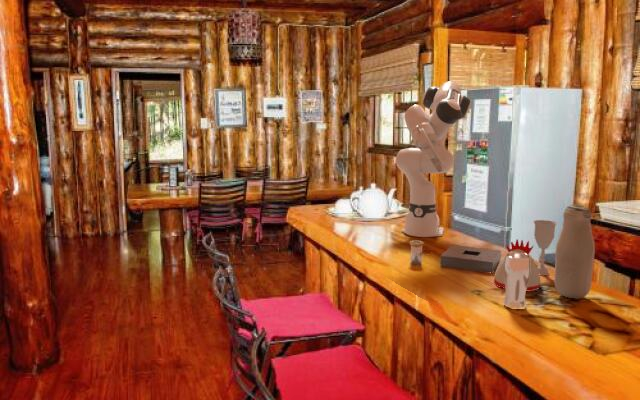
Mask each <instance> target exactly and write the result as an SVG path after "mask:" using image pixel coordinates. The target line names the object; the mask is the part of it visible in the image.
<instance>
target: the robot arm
mask: <svg viewBox="0 0 640 400" xmlns="http://www.w3.org/2000/svg"><path fill="white" fill-rule="evenodd" d="M422 104H423V106H424V107H425V108H426V109H427V110H432V112H431V113H430V115H429V114H428V113H426V111H425V110H424V108H423V107H422V106H421V105H420V104H414V105H411V106H410V107H409V108H407V109H406V111H405V112H404V121H405V124H406V127H407V129H408V131H409V133H410V134H411V135H410V136H411V139H412V140H413V144H414V146H415V147H408V148H407V147H406V148H403V149H400V150H399V151H398V152H397V154H396V157H395V164H396V166H397V168H398V169H399V170H400V171H401V172H402V173H403V174H404V175H405V177H406V178H407V180H408V184H409V189H410V190H409V192H410V194H409V195H410V197H409V198H410V199H409V205H408V213H406V214H405V222H404V228H402V229H401V233H404V234H406V235H408V236H412V237H419V238H431V237H443V234H444V227H443V226H442V227H441V224H440V217H439V215H438V213H437V205H438V204H437V202H436V190H437V189H436V186H435V185H434V183H432V182H431V181H429V180H428V179H427V178H426V177H425V174H435V175H436V174H437V175H438V174H444V173H448V172H450V171H451V169H452V168H453V165H454V163H455V162H454V160H455V159H454V156H453V154H452V153H451V151H449V150H448V149H447V148H446V147H445V143H446V139H447V136H448V133H449V131H450V130H451V129H452V127H453V126H454V125H455V123H457V122H458V121H459V120H461V119H464V118H465V117H466V116H467V115H468V113H469V111H470V110H471V99H470V98H469V97H467V96H466V95H462V90H461V87H460V85H459V84H458V83H457V82H455V81H453V80H451V81H450V80H449V81H445V82H444V83H443V84H441V85H440V86H439V87H438V86H430V87H428V88H427V89H426V90H425V91H424V93H423V96H422Z"/></svg>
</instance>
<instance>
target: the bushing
mask: <svg viewBox="0 0 640 400" xmlns="http://www.w3.org/2000/svg"><path fill="white" fill-rule="evenodd" d="M424 244H425V243H424V241H422V240H415V239H414V240H410V241H409V245H410V264H411V265H415V266H420V265H422V263H423V261H422V259H423V245H424Z"/></svg>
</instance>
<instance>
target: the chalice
mask: <svg viewBox="0 0 640 400" xmlns="http://www.w3.org/2000/svg"><path fill="white" fill-rule="evenodd" d="M533 223H534V232H533V233H534V239H535V242H536V244H537V246H538V248H539V249H541V252H540V253H539V256H540V259H539V261H540V264H539V265H537V266H538V267H537V268H538V272H539V274H541V275H540V276H542V275H547V276H549V275H550V272H549V270H548V267H547V266H545V261H546V259H545V257H546V253H545V251H546V250H547V249H549V248H550V245H551V244H552V242H553V241H554V238H555V229H556V225H557V223H558V222H557V221H553V220H544V219H538V220H537V219H536V220H533ZM548 274H549V275H548Z"/></svg>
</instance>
